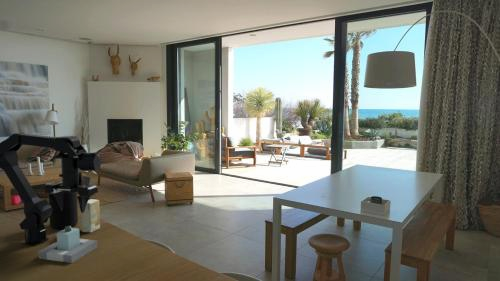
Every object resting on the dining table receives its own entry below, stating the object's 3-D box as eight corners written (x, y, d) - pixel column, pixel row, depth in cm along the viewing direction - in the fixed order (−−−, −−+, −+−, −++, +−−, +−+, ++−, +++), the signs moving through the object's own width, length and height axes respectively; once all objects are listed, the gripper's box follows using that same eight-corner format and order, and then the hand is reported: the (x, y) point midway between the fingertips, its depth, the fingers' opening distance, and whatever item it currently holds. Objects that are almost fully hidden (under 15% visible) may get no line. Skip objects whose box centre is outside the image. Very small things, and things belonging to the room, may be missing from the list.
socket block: (38, 258, 118) (38, 251, 118) (66, 243, 130) (66, 237, 130) (71, 263, 115) (71, 255, 115) (97, 247, 128) (97, 240, 127)
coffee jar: (56, 221, 153) (54, 181, 151) (81, 221, 155) (80, 181, 153) (45, 230, 143) (42, 187, 141) (72, 230, 144) (70, 187, 142)
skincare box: (91, 233, 141) (90, 203, 140) (81, 232, 142) (80, 202, 141) (100, 227, 147) (100, 199, 146) (91, 226, 148) (90, 198, 147)
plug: (57, 255, 121) (56, 228, 120) (69, 248, 126) (68, 223, 125) (68, 256, 120) (67, 230, 119) (80, 250, 125) (79, 224, 124)
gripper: (106, 167, 134) (107, 207, 136) (64, 165, 138) (66, 203, 140) (86, 173, 124) (88, 216, 125) (42, 170, 128) (44, 211, 129)
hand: (72, 211), depth 130 cm, fingers open, 9 cm apart
